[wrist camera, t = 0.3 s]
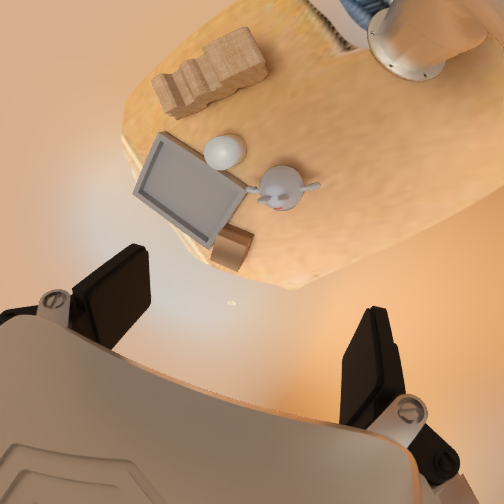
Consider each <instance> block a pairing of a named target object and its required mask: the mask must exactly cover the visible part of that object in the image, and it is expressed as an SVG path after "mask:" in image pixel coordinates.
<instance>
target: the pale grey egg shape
mask: <svg viewBox="0 0 504 504" xmlns="http://www.w3.org/2000/svg"><path fill="white" fill-rule="evenodd" d="M246 152H247V148H246V144H245V142H244V140H243V139H242V138H241V137H239V136H237V135H234V134H229V135H223V136H218V137H214V138H212V139H210V140H209V141H208V142H207V144H206V145H205V148H204V158H205V160H206V162H207V164H208V165H209V166H210V167H211V168H213V169H215V170H226V169H228V168H230V167H232V166H234V165H236V164H238V163H240V162H241V161H242V160H243V159H244V158H245V156H246Z"/></svg>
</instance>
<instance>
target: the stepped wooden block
mask: <svg viewBox="0 0 504 504" xmlns="http://www.w3.org/2000/svg"><path fill="white" fill-rule="evenodd" d="M203 51H204V53H205V54H204V55H202V56H200V57H198V58H197V59H191V60H187V61H185V62H183V63H182V64H181V65H180V67H179V70H177V71H176V72H174V73H173V74H163V73H162V74H159V75H158V76H156V77H155V78H154V79H152V80H151V83H152V85H153V87H154V89H155V92H156V94H157V96H158V98H159V101H160V103H161V105H162V107H163V110H164V112H165V113H168V114H169V116H174V117H175V120H179V119H181V118H183V117H185V116H187V115H188V114H194V113H197V112H199V111H202V110H203V109H205V108H206V107H207V104H208V103H210V102H212V101H216V100H220V99H223V98H226V97H228V96H230V95H232V94H233V93H235V92H236V91H237V89H238V88H244V87H248V86H251V85H254V84H256V83H258V82H260V81H262V80H264V79H265V78H266V75H268V74H269V72H268V70H267V68H266V66H265V64H266V60H265V58H264V56H263V54H262V52H261V50H260V48H259V47H258V45H257V43H256V41H255V39H254V37H253V35H252V34H251V32H250V30H249V28H248V27H242V28H240V29H238V30H235V31H233V32H231V33H229V34H227V35H225V36H223V37H221V38H219V39H217V40H216V41H214V42H212V43H210V44H208V45H206V46H204V47H203Z"/></svg>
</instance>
